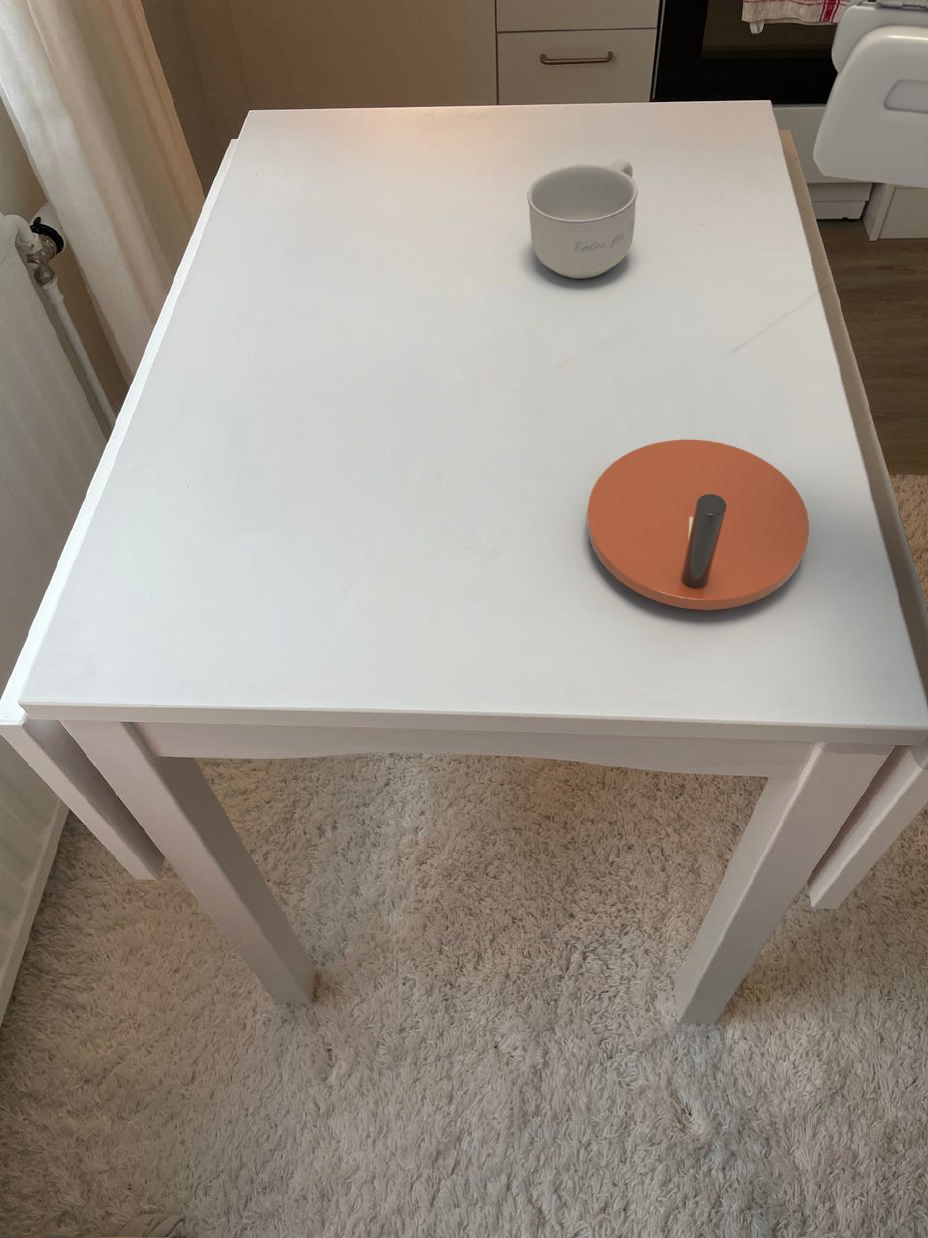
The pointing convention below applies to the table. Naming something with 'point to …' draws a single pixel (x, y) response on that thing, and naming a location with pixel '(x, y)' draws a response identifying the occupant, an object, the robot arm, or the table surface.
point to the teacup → (583, 217)
